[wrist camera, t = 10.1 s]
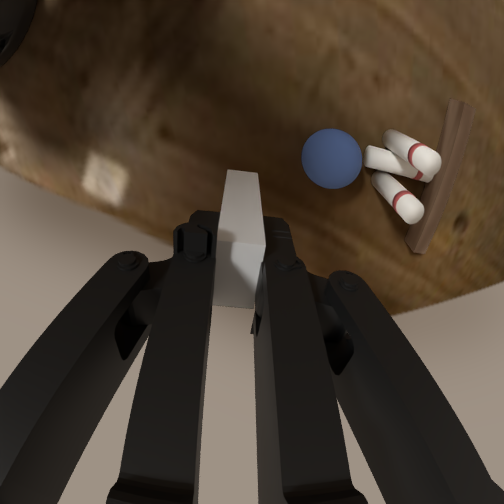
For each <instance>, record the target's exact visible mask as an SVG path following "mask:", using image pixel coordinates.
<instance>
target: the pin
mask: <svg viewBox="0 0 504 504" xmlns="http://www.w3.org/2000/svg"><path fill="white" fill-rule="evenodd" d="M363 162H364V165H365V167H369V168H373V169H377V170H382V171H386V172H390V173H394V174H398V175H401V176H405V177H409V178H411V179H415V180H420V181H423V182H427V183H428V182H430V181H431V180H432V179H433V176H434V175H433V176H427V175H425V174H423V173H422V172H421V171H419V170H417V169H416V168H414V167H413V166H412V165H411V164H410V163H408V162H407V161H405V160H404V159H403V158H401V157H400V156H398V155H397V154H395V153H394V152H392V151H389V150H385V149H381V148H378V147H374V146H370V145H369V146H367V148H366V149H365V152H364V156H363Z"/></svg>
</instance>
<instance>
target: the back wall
mask: <svg viewBox="0 0 504 504" xmlns="http://www.w3.org/2000/svg"><path fill="white" fill-rule="evenodd" d="M475 111H476V109H475V108H474V107H472V106H470V105H468V104H467V103H465V102H461V101H458V100H455V99H451V98H450V100H449V104H448V109H447V113H446V117H445V121H444V125H443V129H442V132H441V136H440V140H439V143H438V147H437V150H436V152H437V153H438V154H439V155H440V157H441V167H440V169H439V171H438V172H437V173H436V174H435V175H434V176H433V179H432V180H431V181H430V182H428V183H427V182H426V184H425V187H424V190H423V193H422V196H421V198H420V202H421V203H422V205H423V206H424V214H423V216H422V218H421V219H420V220H419V221H418V222H417V223H414V224H410V227H409V229H408V232H407V234H406V237H405V239H404V240H405V242H406V243H407V244H408V246H409V247H410V248H411V250H412V251H413V252H414V253H421V254H425V253H426V250H427V248H428V246H429V244H430V242H431V240H432V237H433V235H434V233H435V231H436V228H437V226H438V224H439V221H440V219H441V216H442V214H443V211H444V209H445V206H446V204H447V201H448V199H449V196H450V193H451V191H452V188H453V185H454V182H455V180H456V177H457V174H458V171H459V168H460V165H461V162H462V159H463V155H464V152H465V149H466V145H467V142H468V138H469V135H470V131H471V127H472V123H473V119H474V115H475Z"/></svg>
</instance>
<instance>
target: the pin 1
mask: <svg viewBox="0 0 504 504" xmlns="http://www.w3.org/2000/svg"><path fill="white" fill-rule="evenodd" d="M382 142H383V144H384V146H385V147H386V148H388V149H389V150H391V151H392V152H394V153H395V154H397V155H398V156H400V157H401V158H403V159H404V160H405V161H407V162H408V163H410V164H411V165H412V166H413V167H414V168H416V169H417V170H419V171H421V172H422V173H423V174H425V175H427V176H433V175H435V174H436V173H437V172H438V171H439V169H440V167H441V157H440V155H439V154H438V153H437V152H435V151H434V150H432V149H430V148H429V147H428V146H426V145H424V144H422V143H420V142H418V141H416V140H414V139H412V138H410V137H408V136H406V135H404V134H402V133H401V132H399V131H397V130H394V129H389V130H387V131H386V132H385V133H384V134H383V137H382Z"/></svg>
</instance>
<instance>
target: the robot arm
mask: <svg viewBox="0 0 504 504" xmlns="http://www.w3.org/2000/svg"><path fill="white" fill-rule="evenodd" d="M36 2H37V0H0V67H1V66H2V65H3V64H4V63H5V62H6V61H7V60H8V59H9V58H10V57H11V56H12V55H13V53H14V52H15V51H16V49H17V48H18V46H19V45H20V43H21V42H22V40H23V38H24V36H25V34H26V32H27V30H28V28H29V26H30V23H31V20H32V18H33V14H34V11H35V7H36ZM173 243H174V254H173V257H172V258H170V259H167V260H164V261H159V262H150V263H149V262H148V258H147V257H146V256H145V255H144V254H142V253H140V252H137V251H124V252H120V253H118V254H115V255H114V256H113V257H112V258H110V259H109V260H108V261H107V262H106V263H105V264H104V265H103V266H102V267H101V268H100V269H99V270H98V271H97V273H96V274H95V275H94V276H93V277H92V278H91V279H90V280H89V281H88V282H87V283H86V284H85V285H84V286H83V287H82V289H81V290H80V291H79V292H78V293H77V294H76V295H75V296H74V297H73V299H72V300H71V301H70V302H69V303H68V304H67V305H66V306H65V307H64V309H63V310H62V311H61V312H60V313H59V314H58V316H57V317H56V318H55V319H54V320H53V321H52V323H51V324H50V325H49V326H48V327H47V329H46V330H45V331H44V332H43V334H42V335H41V336H40V337H39V339H38V340H37V341H36V342H35V343H34V345H33V346H32V347H31V349H30V350H29V351H28V352H27V354H26V355H25V356H24V358H23V359H22V360H21V362H20V363H19V364H18V366H17V367H16V368H15V369H14V371H13V372H12V374H11V375H10V376H9V378H8V379H7V380H6V382H5V384H4V385H3V386H2V388H1V389H0V504H57V503H58V501H59V499H60V497H61V495H62V493H63V491H64V489H65V487H66V485H67V483H68V481H69V479H70V477H71V475H72V473H73V471H74V469H75V467H76V465H77V463H78V461H79V459H80V457H81V455H82V453H83V451H84V449H85V447H86V446H87V444H88V442H89V440H90V438H91V436H92V434H93V432H94V431H95V429H96V427H97V425H98V423H99V421H100V420H101V418H102V416H103V414H104V412H105V410H106V409H107V407H108V405H109V403H110V401H111V400H112V398H113V396H114V394H115V392H116V391H117V389H118V387H119V386H120V384H121V382H122V380H123V378H124V377H125V375H126V374H127V372H128V370H129V368H130V367H131V365H132V363H133V362H134V359H135V358H136V356H137V355H138V353H139V351H140V350H141V348H142V346H143V345H144V343H145V341H146V340H147V338H148V336H149V338H148V342H147V346H146V349H145V353H144V357H143V361H142V365H141V369H140V373H139V378H138V382H137V386H136V390H135V395H134V400H133V404H132V409H131V414H130V419H129V423H128V428H127V434H126V439H125V444H124V450H123V455H122V461H121V468H120V473H119V477H118V480H117V482H116V483H115V484H114V486H113V487H112V488H111V489H110V492H109V494H108V496H107V500H106V504H198V489H199V487H198V486H199V467H200V450H201V434H202V433H201V432H202V419H203V406H204V393H205V380H206V369H207V357H208V346H209V335H210V326H211V314H212V305H217V306H228V307H238V308H250V309H253V308H254V302H255V314H254V319H253V324H252V328H251V334H254V364H255V399H256V433H257V464H258V465H257V466H258V467H257V468H258V499H259V501H258V503H259V504H368V502H367V500H366V498H365V497H364V495H363V494H362V493H360V492H359V491H358V490H356V489H355V488H354V486H353V484H352V481H351V476H350V470H349V464H348V458H347V452H346V446H345V440H344V435H343V429H342V425H341V419H340V414H339V409H338V404H337V400H338V402H339V404H340V406H341V408H342V410H343V412H344V415H345V416H346V419H347V420H348V423H349V425H350V427H351V429H352V431H353V434H354V436H355V438H356V440H357V442H358V444H359V446H360V448H361V450H362V453H363V455H364V457H365V459H366V461H367V463H368V466H369V468H370V470H371V472H372V474H373V476H374V478H375V481H376V483H377V485H378V487H379V489H380V491H381V493H382V496H383V498H384V500H385V502H386V504H504V491H503V490H502V489H501V488H500V487H499V486H498V485H497V484H496V483H495V482H494V481H493V480H492V479H491V478H490V475H489V474H488V472H487V470H486V468H485V466H484V464H483V462H482V460H481V458H480V456H479V454H478V452H477V451H476V449H475V447H474V445H473V443H472V441H471V440H470V438H469V436H468V434H467V433H466V431H465V429H464V427H463V426H462V424H461V422H460V421H459V419H458V417H457V416H456V414H455V412H454V410H453V409H452V407H451V405H450V404H449V402H448V401H447V399H446V397H445V396H444V394H443V393H442V391H441V389H440V388H439V386H438V385H437V383H436V382H435V380H434V378H433V377H432V375H431V374H430V372H429V371H428V369H427V368H426V366H425V365H424V363H423V362H422V360H421V359H420V357H419V356H418V354H417V353H416V351H415V350H414V348H413V347H412V346H411V344H410V343H409V341H408V340H407V338H406V337H405V335H404V334H403V333H402V331H401V330H400V328H399V327H398V326H397V324H396V323H395V321H394V320H393V319H392V317H391V316H390V314H389V313H388V312H387V310H386V309H385V308H384V306H383V305H382V304H381V302H380V301H379V300H378V298H377V297H376V296H375V294H374V293H373V292H372V290H371V289H370V288H369V286H368V285H367V284H366V282H365V281H364V280H363V279H362V278H361V277H359V276H358V275H356V274H354V273H352V272H349V271H341V270H339V271H335V272H333V273H332V274H331V275H330V276H329V279H326V278H322V277H319V276H316V275H313V274H311V273H309V272H307V270H306V266H305V264H304V263H303V261H302V260H300V259H299V258H298V257H296V253H295V249H294V245H293V241H292V237H291V233H290V229H289V225H288V224H287V223H286V222H285V221H284V220H283V219H282V218H275V217H267V216H263V215H262V206H261V197H260V188H259V180H258V173H254V172H246V171H237V170H227V176H226V182H225V188H224V194H223V200H222V207H221V212H212V211H202V210H197V211H196V212H195V213H193V214H192V215H191V216H190V219H189V222H188V223H183V224H181V225H179V226H177V227H176V228H175V229H174V231H173ZM348 333H349V334H348ZM349 335H350V336H349ZM336 398H337V399H336Z"/></svg>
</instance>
